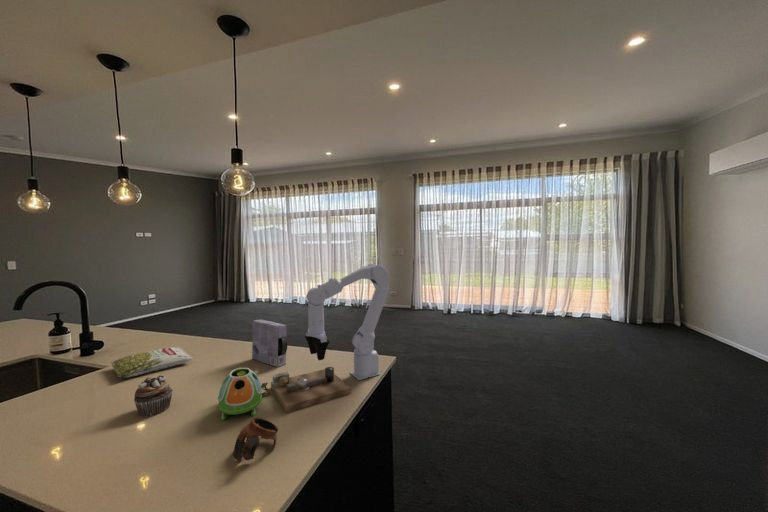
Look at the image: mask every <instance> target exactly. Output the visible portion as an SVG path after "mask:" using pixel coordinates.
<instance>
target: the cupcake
mask: <svg viewBox="0 0 768 512" xmlns="http://www.w3.org/2000/svg"><path fill="white" fill-rule="evenodd" d="M166 379H167V377H165V376H163V375H158V376H157V377H153V378H152V377H146V378H145V379H144V381H142V382H140V384H139V385H138V387H137V388H136V390H135V393H134V399H133V402H134V404H135V407H136V411H137V415H139V417H141V416H142V417H143V418H146V416H148V417H153V415H154V416H157V415H160V414H162V413H164V412H166V411H167V410H169V408H170V407H171V401H172V395H173V391H174V390H173V389H172V387H170V383H169V382H167V381H166Z"/></svg>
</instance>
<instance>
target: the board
mask: <svg viewBox="0 0 768 512" xmlns="http://www.w3.org/2000/svg"><path fill="white" fill-rule="evenodd" d="M323 376H325V368H323V369H320V370H315V371H311V372H307V373H303V374H299V375H298V374H297V375H295V376H292V377H290V373H289V372H288V371H285V372H284V371H283V372H280V373H276V374H272V381H271V382H270V388H271V391H272V392H273V393H274V395H275V397H276V399H277V400H278V402H279V403H280V405H282V406H281V407H282V409H283V411H284V412H285V413H286V414H288V413H290V412H293V411H297V410H300V409H304V408H307V407H310V406H313V405H317V404H320V403H323V402H327V401H329V400H334V399H336V398H340V397H343V396H345V395H350V394H351V393H352V392H351V387H350V386H349V385H348V384H347V383H346V382H344V380H343V379H342V378H340V377H339V376H338V375H337V374H335V373H334V381H332V382H325V383H321V384H317V385H314V386H310V387H307V388H306V389H303V390H296V391H292V392H288V391H287V384H291V383H295V382H297V379H298V378H301V377H306V378H307V379H308V380H311V379H315V378H319V377H323Z"/></svg>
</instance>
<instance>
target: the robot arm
mask: <svg viewBox="0 0 768 512" xmlns="http://www.w3.org/2000/svg"><path fill="white" fill-rule="evenodd" d="M389 276H390V273H389V271H388V270H387V268H386V267H385V266H384V265H383V264H375V263H369V264H368V265H365V266H362V267H360V268H358V269H357V270H354V271H353V272H351V273H349V274H347V275H345V276H343V277H341V278H339V279H338V278H336V277H335V278H332V277H331V278H329V279H328V281H326V282H324V283H322V284H317V286H316V287H311V288H310V289H309V290H308V291H307V293H306V296H305V297H306V299H307V301H308V302H307V303H308V304H307V305H308V306H307V307H308V308H307V316H308V318H307V319H308V321H307V322H308V328H307V332H306V333H305V335H304V338H305V340H306V342H307V345H308V348H309V351H310V352H309V353H310V355H315V354H316V357H317V361H324V360H325V357H326V351H327V348H328V347H329V344H330V342H331V341H330V339H328V338H327V337H328V336H327V335H326V331H325V307H324V303H325V301H326V300H328V299H330V298H333V297H334V296H335V295H337V294H340V293H341V292H342V291H343V289H344V287H346V286H349V285H351V284H353V283H356V282H358V281H360V280H362V279H363V280H370V282H371V283H372V285H373V286H374V288H375V290H374V293H373V295H372V297H371V300H370V303H369V306H368V308H367V311H366V313H365V316H364V320H363V322H362V324H361V326H360V327H358V330H357V331H356V333H355V334H353V336H352V338H351V341H352V342H351V343H352V346H353V347H354V349H353V370H352V371H350V372H349V374H350V375H351V376H352V377H354V378H355V379H357V380H358V381H361V380H364V379H368V377H369V378H372V377H376V376H378V375H381V373H380V372H379V371H380V367H379V366H380V365H379V363H380V362H379V361H380V360H379V354H378V352H377V350H375V349H374V348H375V343H374V342H375V339H376V335H375V329H376V327H377V324H378V323H379V319H380V316H381V313H382V311H383V308H384V305H385V303H386V300H387V297H388V294H389V292H390V281H389Z"/></svg>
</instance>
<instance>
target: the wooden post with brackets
mask: <svg viewBox="0 0 768 512" xmlns="http://www.w3.org/2000/svg"><path fill="white" fill-rule="evenodd" d="M267 386H268V382H267V381H266V382H263V383H261V388H262V391H263V390H264V391H265V392H262V393H261V394H262V398H263V397H264V396H266V394H268V395H270V394H271V392H270V391H269V389H268V387H267Z"/></svg>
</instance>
